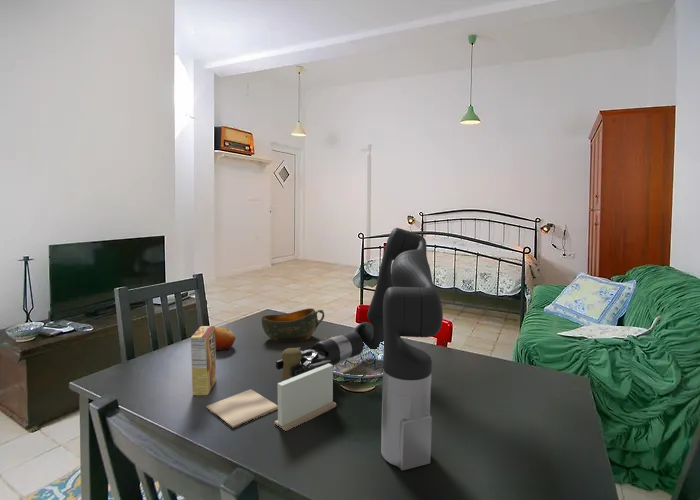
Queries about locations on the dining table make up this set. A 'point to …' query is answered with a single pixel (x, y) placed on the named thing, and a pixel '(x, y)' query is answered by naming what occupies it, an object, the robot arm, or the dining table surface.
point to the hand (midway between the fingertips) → (283, 369)
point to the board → (242, 407)
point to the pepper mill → (290, 361)
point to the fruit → (224, 338)
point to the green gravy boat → (291, 325)
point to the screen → (305, 397)
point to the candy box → (203, 360)
